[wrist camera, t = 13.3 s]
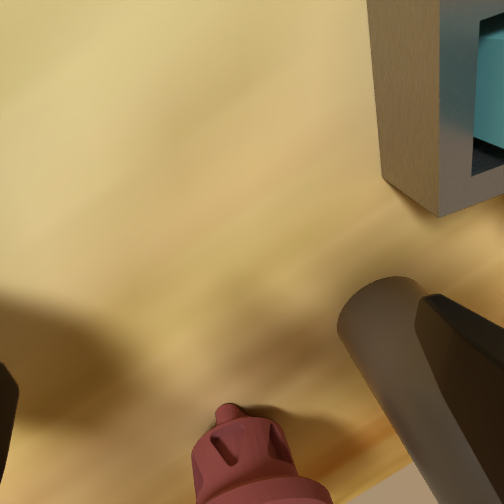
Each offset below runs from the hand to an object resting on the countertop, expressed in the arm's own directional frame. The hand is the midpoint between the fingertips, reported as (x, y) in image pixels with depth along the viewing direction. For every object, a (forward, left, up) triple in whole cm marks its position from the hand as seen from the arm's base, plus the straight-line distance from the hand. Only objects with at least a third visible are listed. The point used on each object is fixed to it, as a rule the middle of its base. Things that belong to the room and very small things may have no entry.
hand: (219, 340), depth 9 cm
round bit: (+14, -11, -12) cm, 22 cm away
